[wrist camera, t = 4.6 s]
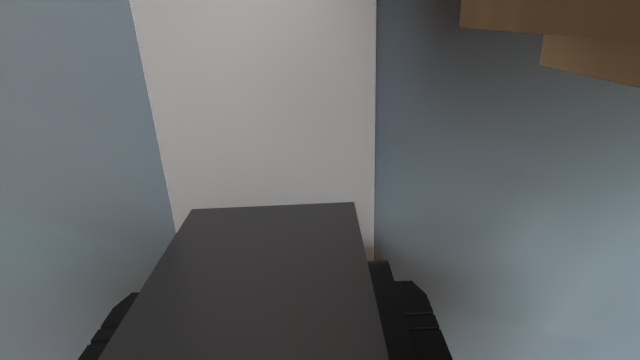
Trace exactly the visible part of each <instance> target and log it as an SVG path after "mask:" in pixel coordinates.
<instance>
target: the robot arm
mask: <svg viewBox="0 0 640 360" xmlns="http://www.w3.org/2000/svg"><path fill="white" fill-rule="evenodd" d="M367 262H368V267H369V271H370V276H371V280H372V285H373V290H374V294H375V299H376V303H377V308H378V312H379V317H380V321H381V326H382V330H383V335H384V339H385V344H386V348H387V353H388V357H389V360H453V359H452V357H451V354H450V352H449V349H448V347H447V344H446V342H445V339H444V337H443V334H442V332H441V330H439V325H438V322H437V320H436V317H435V315H433V310H432V307H431V305H430V302H429V300H428V298H427V295H426V294H425V293H424V292H423V291H422V290H421V289H420V288H419V287H418V286H417V285H416V284H415V283H414V282H412V281H394V279H393V276H392V273H391V269H390V266H389V263H388V261H387V260H381V261H367ZM139 293H140V292H138V293H131V294H130V295H129V296H128V297H126V298H125V299H124V300H123V301H121V302H120V303H119V304H118V305H116V306H115V307H114V308H113V309H112V311H111V312H110V313H109V315H108V316H107V318H106V319H105V321H104V322H103V324H102V325H101V329H99V330H98V331H97V333H96V334H95V335H94V337H93V338H92V340H91V344H90V345H88V346H87V347H86V349H85V350H84V352H83V353H82V354H81V356H80V357H79V359H78V360H98V358H99V357H100V355H101V354H102V352H103V350H104V349H105V347H106V346H107V344H108V342H109V341H110V339H111V338H112V336H113V334H114V333H115V331H116V329H117V328H118V326H119V325H120V323H121V321H122V320H123V318H124V317H125V315H126V313H127V312H128V310H129V309H130V307H131V305H132V304H133V302H134V301H135V299H136V297H137V296H138V294H139Z"/></svg>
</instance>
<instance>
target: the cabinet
mask: <svg viewBox="0 0 640 360" xmlns="http://www.w3.org/2000/svg"><path fill="white" fill-rule="evenodd" d="M459 28H470V29H483V30H495V31H508V32H520V33H533V34H544V35H543V41H542V48H541V54H540V61H539V65H540V66H545V67H549V68H554V69H558V70H563V71H567V72H572V73H576V74H581V75H585V76H590V77H595V78H599V79H604V80H608V81H613V82H617V83H622V84H626V85H631V86H636V87H640V0H461V10H460V23H459Z"/></svg>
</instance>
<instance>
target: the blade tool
mask: <svg viewBox="0 0 640 360" xmlns="http://www.w3.org/2000/svg"><path fill="white" fill-rule="evenodd" d="M129 2H130V7H131V12H132V17H133V22H134V27H135V32H136V37H137V42H138V47H139V52H140V56H141V61H142V66H143V71H144V76H145V81H146V86H147V91H148V96H149V101H150V106H151V111H152V116H153V121H154V126H155V131H156V136H157V141H158V146H159V151H160V156H161V161H162V166H163V171H164V176H165V181H166V186H167V191H168V196H169V201H170V206H171V211H172V216H173V221H174V226H175V231H176V235H175V237H174V238H173V240H172V241H171V243H170V245H169V246H168V248H167V249H166V251H165V253H164V254H163V256H162V257H161V259H160V261H159V262H158V264H157V265H156V267H155V269H154V270H153V272H152V273H151V275H150V277H149V278H148V280H147V281H146V283H145V285H144V286H143V288H142V289H141V291H140V293H139V294H138V296H137V297H136V299H135V301H134V302H133V304H132V305H131V307H130V309H129V310H128V312H127V313H126V315H125V317H124V318H123V320H122V321H121V323H120V325H119V326H118V328H117V329H116V331H115V333H114V334H113V336H112V338H111V339H110V341H109V342H108V344H107V346H106V347H105V349H104V350H103V352H102V354H101V355H100V357H99V358H98V360H389V357H388V353H387V348H386V344H385V339H384V335H383V330H382V326H381V321H380V317H379V312H378V308H377V303H376V299H375V294H374V290H373V285H372V280H371V276H370V271H369V267H368V262H367V261H374V185H375V84H376V0H129Z"/></svg>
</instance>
